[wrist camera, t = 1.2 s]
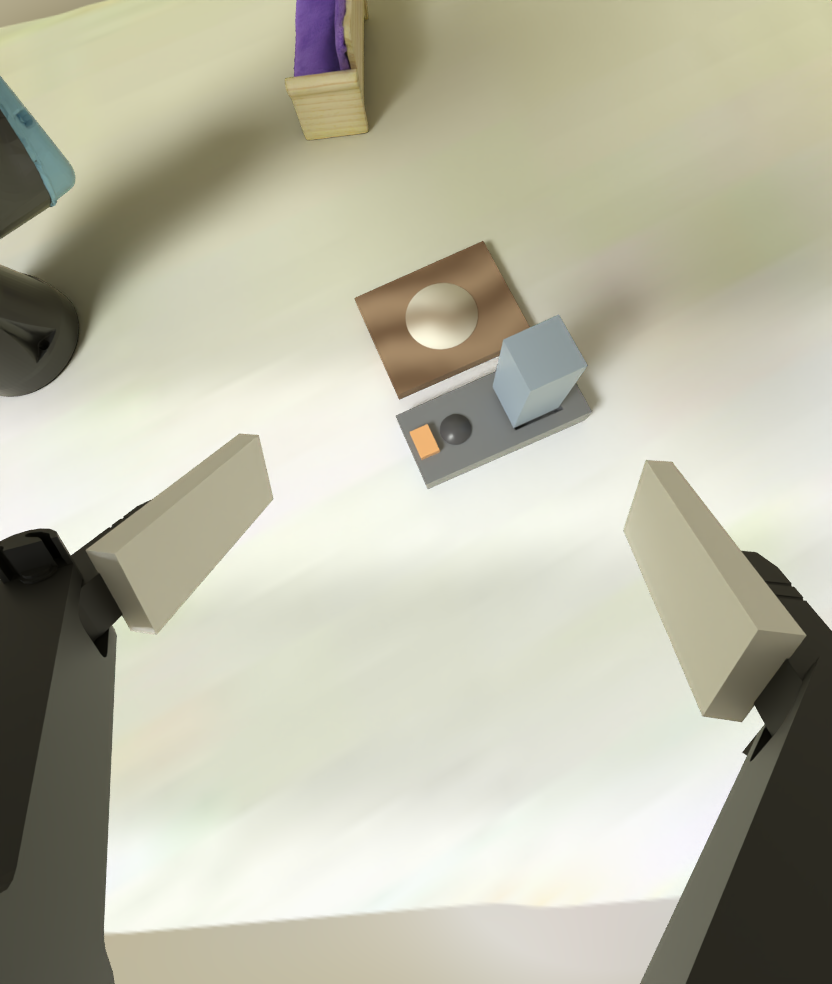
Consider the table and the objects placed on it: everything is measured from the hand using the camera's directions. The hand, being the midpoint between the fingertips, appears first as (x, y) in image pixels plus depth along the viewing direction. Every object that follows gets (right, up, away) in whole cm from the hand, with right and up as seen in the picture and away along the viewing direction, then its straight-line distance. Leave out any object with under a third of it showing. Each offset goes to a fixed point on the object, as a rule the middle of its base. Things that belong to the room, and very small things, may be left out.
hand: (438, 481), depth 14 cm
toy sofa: (-11, +55, +40) cm, 69 cm away
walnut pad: (+2, +19, +32) cm, 37 cm away
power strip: (+7, +7, +30) cm, 32 cm away
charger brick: (+10, +9, +29) cm, 32 cm away
